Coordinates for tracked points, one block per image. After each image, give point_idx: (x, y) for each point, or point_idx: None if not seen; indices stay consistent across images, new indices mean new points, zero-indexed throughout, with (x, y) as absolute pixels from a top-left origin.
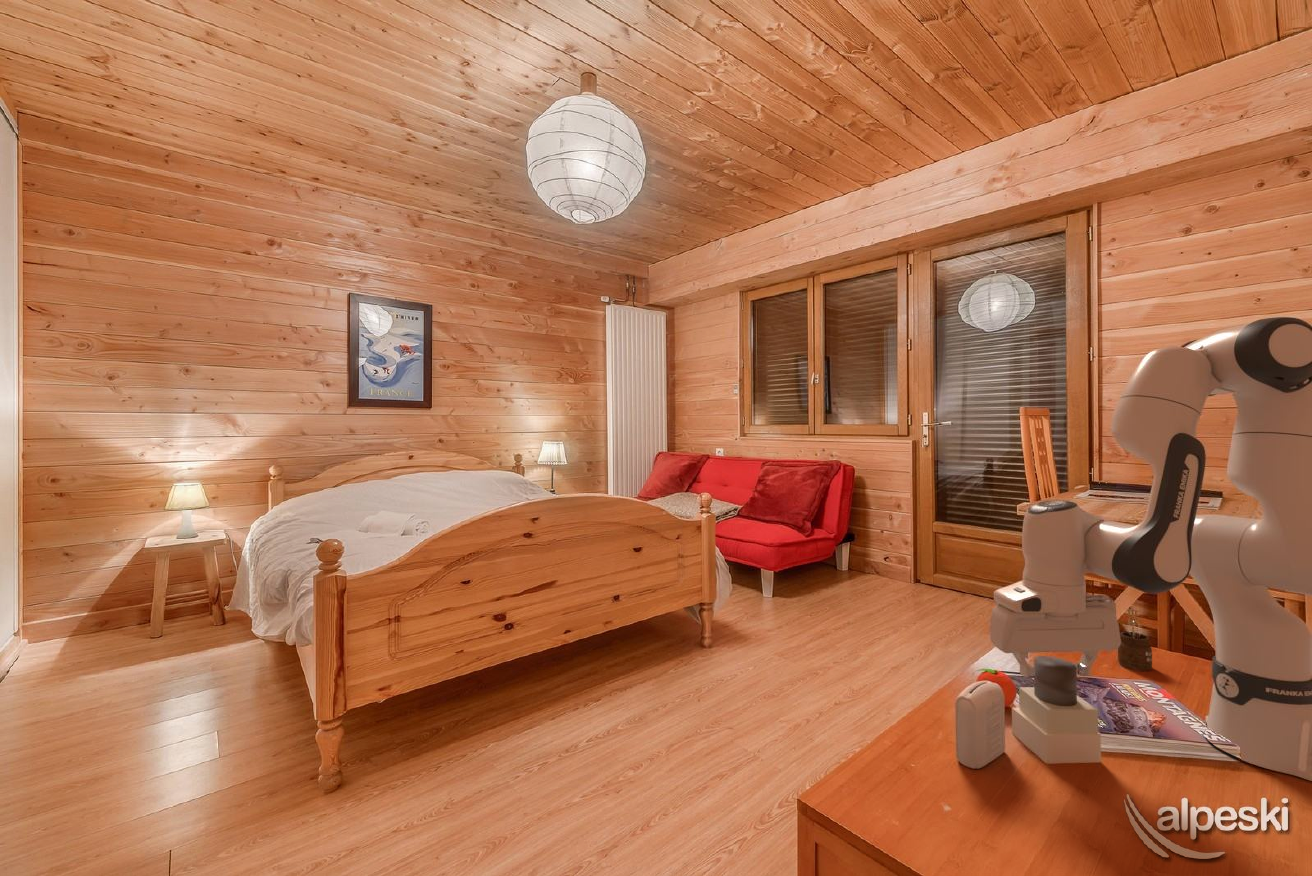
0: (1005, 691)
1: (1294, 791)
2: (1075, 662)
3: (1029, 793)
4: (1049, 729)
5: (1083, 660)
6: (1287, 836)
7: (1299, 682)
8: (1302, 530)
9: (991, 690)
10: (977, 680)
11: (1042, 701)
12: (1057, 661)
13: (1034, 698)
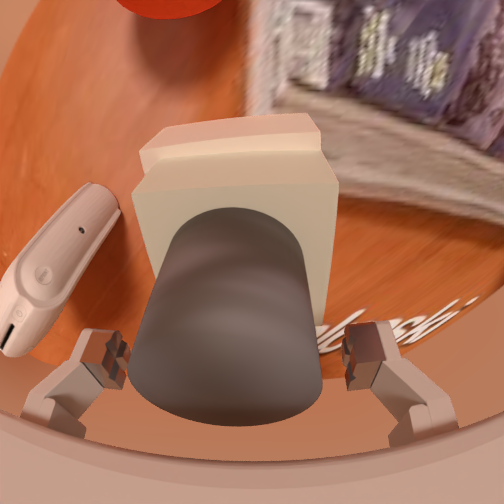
0: (174, 13)
1: (498, 285)
2: (359, 364)
3: (135, 308)
4: None
5: (389, 385)
6: (401, 349)
7: None
8: None
9: (29, 346)
10: None
11: None
12: (252, 381)
13: (157, 275)
